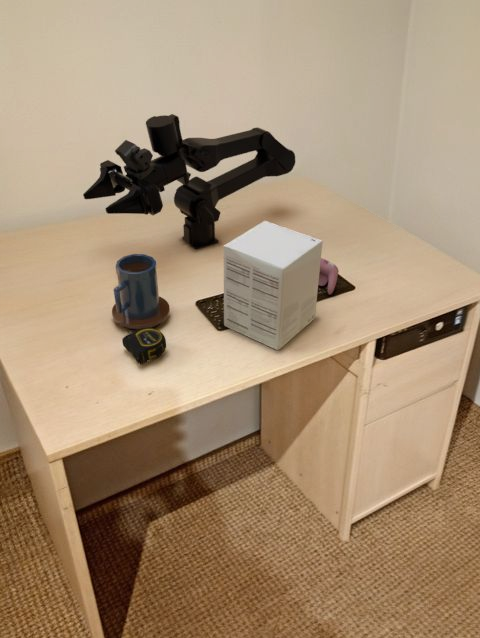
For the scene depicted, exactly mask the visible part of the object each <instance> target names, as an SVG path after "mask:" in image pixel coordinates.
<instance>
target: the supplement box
mask: <svg viewBox="0 0 480 638" xmlns="http://www.w3.org/2000/svg"><path fill="white" fill-rule="evenodd" d="M323 242H324V241H323V240H322V239H319V238H317V237H314V236H311V235H308V234H305V233H302V232H299V231H296V230H293V229H290V228H289V227H284V226H281V225H279V224H276V223H274V222H270V221H267V220H263V221H261V222H260V223H259V224H256V225H255V226H253V227H252V228H251V229H249V230H247V231H245V232H243V233H242V234H240V235H238V236H237V237H235V238H234V239H232V240H231V241H229V242H227V243H226V244H224V245H223V326H224V327H226V328H228V329H231V330H232V331H234V332H237V333H238V334H241V335H243V336H245V337H248V338H250V339H252V340H254V341H256V342H258V343H261V344H263V345H265V346H267V347H270V348H272V349H274V350H276V351H279V350H281V348H283V347H284V346H285V345H286V344H287V343H289V342H290V341H291V340H292V339H293V338H294V337H295V336H296V335H298V334H300V332H301V331H302V330H303V329H305V328H306V327H307V326H308V325H309V324H311V322H313V321H314V320H315V318H316V312H317V301H318V291H319V290H318V289H319V285H318V282H319V275H320V273H319V272H320V263H321V258H322V251H323Z"/></svg>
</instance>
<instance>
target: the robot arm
mask: <svg viewBox="0 0 480 638" xmlns="http://www.w3.org/2000/svg"><path fill="white" fill-rule="evenodd" d="M145 126H146V131H147V135H148V138H149V143H150V146H151V150H152V152H153V153H156V154H158V155H159V156H158V157H156V158H153V157H154V155H153V153H152V152H151V150H149V149H148V148H141V147H140V146H139V145H137V144H136V143H134V142H131V141H129V140H127V139H125V140H124V141H122V143H120V145H119V146H118V147H116V149H115V150H114V152H115V154H116V155H117V156H119V157H120V159H121V161H122V162H123V163H124V165H123V169H122V166H120V165H119V164H117V163H116V162H113V161H111V160H109V159H106V160H104V161H103V162H100V164H99V166H100V168H99V171H100V173H99V177H98V178H97V179H96V180H95V182H94V183H93V184H92V185H90V187H89V188H88V189H87V190H86V191H85V192H84V193H83V194H82V197H83V199H84V200H95V199H101V198H108V197H109V198H110V197H114V196H116V195H117V194H121V193H124V192H125V190H128V193H126V194H125V195H123V196H122V197H120V198H119V199H117V200H115V201H114V202H112V203H111V204H109V205H108V206H107V207H105V212H106V214H108V215H109V214H110V215H111V214H112V215H113V214H115V215H116V214H117V215H119V214H120V215H121V214H122V215H123V214H133V215H135V214H136V215H137V214H138V215H145V216H147V215H151V216H155V215H157V214H159V213H161V211H162V210H163V208H164V204H163V203H164V202H163V200H162V197H161V193H162V192H165V191H166V189H165V187H166V186H168V185H169V184H172V183H174V182H175V181H177V182H178V183H180V184H181V185H180V186H178V187H177V188H176V190H175V193H174V196H173V203H174V206H175V207H176V208H177V209H178V210H179V212H180V213H181V214H182V215H185V216H184V224H183V225H182V226H183V227H182V228H183V236H182V237H181V238H182V241H184V242H185V243H187V244H188V245H189V246H191V248H193V249H194V250H199V249H202V248H206V247H209V246H212V245H215V244H219V239H218V238H216V226H215V225H216V223H217V222H218V221H219V220H220V217H221V211H220V210H219V209H217V208H216V206H217V205H218V203H219V201H220V200H222V199H224V198H226V197H228V196H230V195H232V194H234V193H237V192H238V191H240V190H242V189H244V188H246V187H248V186H250V185H252V184H253V183H256V182H258V181H259V180H261V179H264V178H266V177H280V176H284V175H287V174H289V173H291V172H292V171H293V170H294V168H295V165H296V155H295V152H294V151H293V150H292V149H289V148H288V147H286V146H285V145H284V144H282V143H281V142H280V141H279V140H278V139H276V138H275V136H274V135H273V134H272V133H271V132H270V131H268V130H266V129H263V128H260V127H253V128H251V129H248V130H245V131H241V132H240V131H239V132H237V133H233V134H228V135H225V136H220V137H216V138H206V137H187V138H184V139H183V137H182V131H181V125H180V118H179V116H178V115H176V114H173V113H171V114H168V115H154V116H151V117H149V118H148V119H146V121H145ZM252 152H256V154H255V156H254V158H252V159H251V160H249V161H247V162H245V163H242V164H240V165H238V166H237V167H234V168H232V169H230V170H228V171H226V172H224V173H222V174H219V175H218V176H216V177H214V178H212V179H210V180H204V179H203V178H201V177H199V176H198V175H197V176H194V177H192V178H191V176H192V173H190V172H189V171H188V168H187V167H189V168H191V169H192V170H195V171H196V172H198V173H204V172H207V171H209V170H211V169H213V168H215V167H217V166H218V165H219V164H220V162H222V161H223V160H226V159H230V158H233V157H237V156H240V155H244V154H248V153H252ZM123 170H124V172H125V173H126V174H124V172H123Z"/></svg>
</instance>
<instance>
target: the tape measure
mask: <svg viewBox="0 0 480 638" xmlns="http://www.w3.org/2000/svg"><path fill="white" fill-rule="evenodd" d="M121 343H122V345H123V348H124V349H125V350H126V351H127V352H129V353H130V354H131V356H132V357H133V358H134V359H135V360H136V362H137V364H139V365H141V366H142V365H145V364H148V362H150V361H155V360H157V359H159V358H160V357H161V356H162V355H164V353H165V352H166V348H167V340H166V336H165V335H164V334H163V332H162V331H161V330H159V329H156V328H140V329H137V330H136V331H133V332H130V333H128V334H127V335H125V336H123V338H122V341H121Z"/></svg>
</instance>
